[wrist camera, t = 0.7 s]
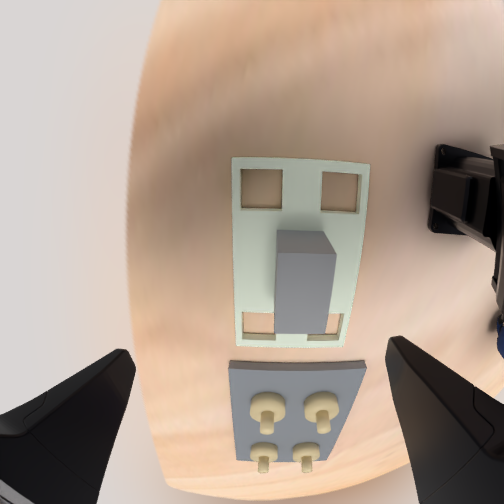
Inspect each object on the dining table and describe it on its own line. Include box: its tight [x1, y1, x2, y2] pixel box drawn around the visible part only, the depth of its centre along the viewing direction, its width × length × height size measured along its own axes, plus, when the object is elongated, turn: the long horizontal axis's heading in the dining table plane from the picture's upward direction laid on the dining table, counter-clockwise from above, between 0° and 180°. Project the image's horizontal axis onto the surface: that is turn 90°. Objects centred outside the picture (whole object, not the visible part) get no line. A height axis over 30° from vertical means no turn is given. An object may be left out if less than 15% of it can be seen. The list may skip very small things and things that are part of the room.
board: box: [232, 157, 370, 348], centre depth 17 cm, size 9×14×5 cm, turn 0°
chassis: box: [228, 361, 367, 473], centre depth 24 cm, size 12×19×4 cm, turn 0°
